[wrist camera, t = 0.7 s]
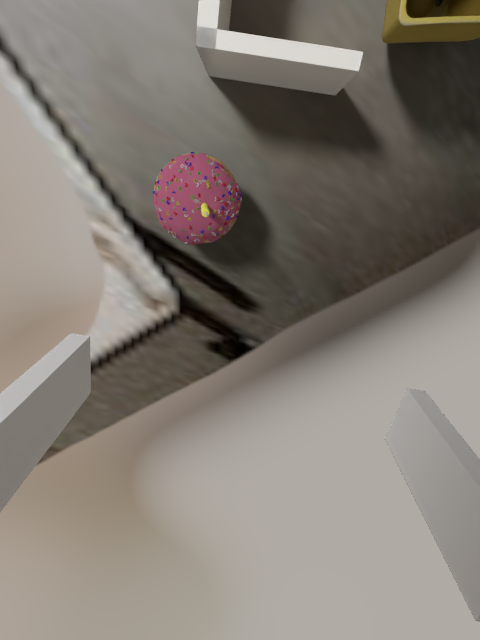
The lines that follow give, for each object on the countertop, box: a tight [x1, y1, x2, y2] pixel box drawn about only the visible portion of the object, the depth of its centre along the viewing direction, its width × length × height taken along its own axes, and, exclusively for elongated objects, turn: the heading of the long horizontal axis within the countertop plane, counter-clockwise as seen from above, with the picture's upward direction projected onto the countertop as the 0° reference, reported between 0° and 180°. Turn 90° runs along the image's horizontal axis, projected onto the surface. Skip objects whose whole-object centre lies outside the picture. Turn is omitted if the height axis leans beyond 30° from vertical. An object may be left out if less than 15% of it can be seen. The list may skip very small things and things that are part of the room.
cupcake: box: [153, 152, 242, 244], centre depth 32 cm, size 9×8×12 cm
